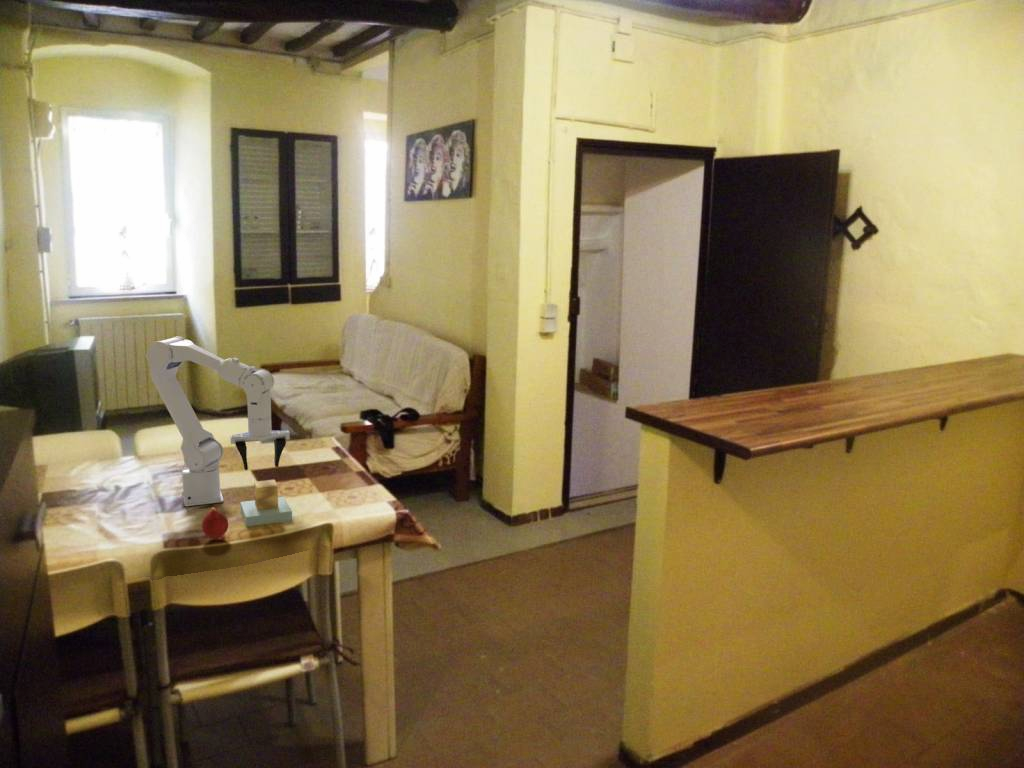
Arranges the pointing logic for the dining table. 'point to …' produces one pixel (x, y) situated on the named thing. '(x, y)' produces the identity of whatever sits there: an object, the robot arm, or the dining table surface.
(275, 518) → the base block
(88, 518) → the dining table surface
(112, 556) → the dining table surface
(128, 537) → the dining table surface
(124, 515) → the dining table surface
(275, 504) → the ochre block
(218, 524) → the onion
